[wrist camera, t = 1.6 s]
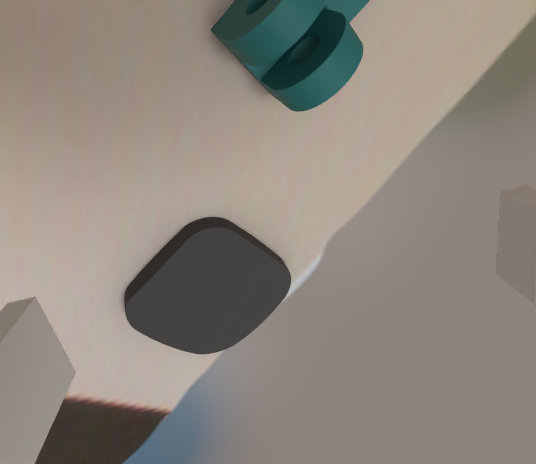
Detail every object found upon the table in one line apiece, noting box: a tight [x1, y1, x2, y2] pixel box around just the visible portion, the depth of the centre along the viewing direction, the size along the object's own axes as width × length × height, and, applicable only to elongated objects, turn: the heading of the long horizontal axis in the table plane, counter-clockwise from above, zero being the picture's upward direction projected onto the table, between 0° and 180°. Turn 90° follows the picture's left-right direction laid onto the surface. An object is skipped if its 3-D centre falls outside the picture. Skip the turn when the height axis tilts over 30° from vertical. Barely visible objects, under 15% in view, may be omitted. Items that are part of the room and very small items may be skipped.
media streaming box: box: [125, 217, 291, 354], centre depth 41 cm, size 15×15×3 cm
